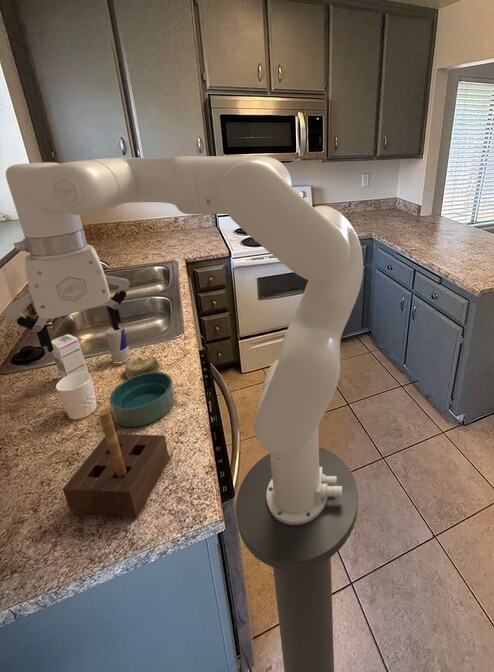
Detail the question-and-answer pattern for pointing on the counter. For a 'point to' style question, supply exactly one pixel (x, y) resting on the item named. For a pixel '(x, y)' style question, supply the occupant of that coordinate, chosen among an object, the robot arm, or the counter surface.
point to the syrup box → (68, 355)
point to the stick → (113, 443)
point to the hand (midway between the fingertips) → (84, 337)
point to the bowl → (142, 399)
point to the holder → (117, 493)
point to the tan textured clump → (141, 366)
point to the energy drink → (118, 345)
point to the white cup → (77, 395)
